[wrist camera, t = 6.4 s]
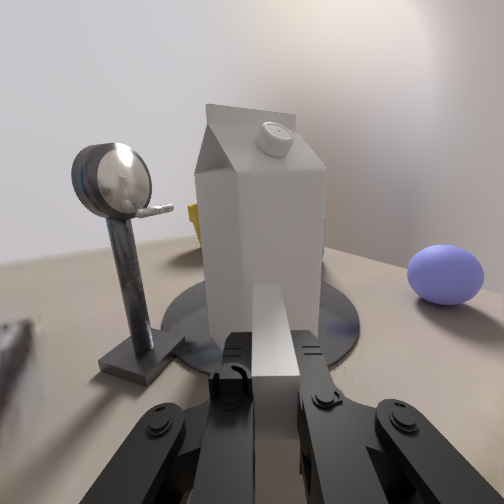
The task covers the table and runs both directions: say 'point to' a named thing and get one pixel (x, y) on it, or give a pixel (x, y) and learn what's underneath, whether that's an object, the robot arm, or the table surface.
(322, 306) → the turntable
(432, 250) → the sphere
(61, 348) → the table surface
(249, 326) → the milk carton
